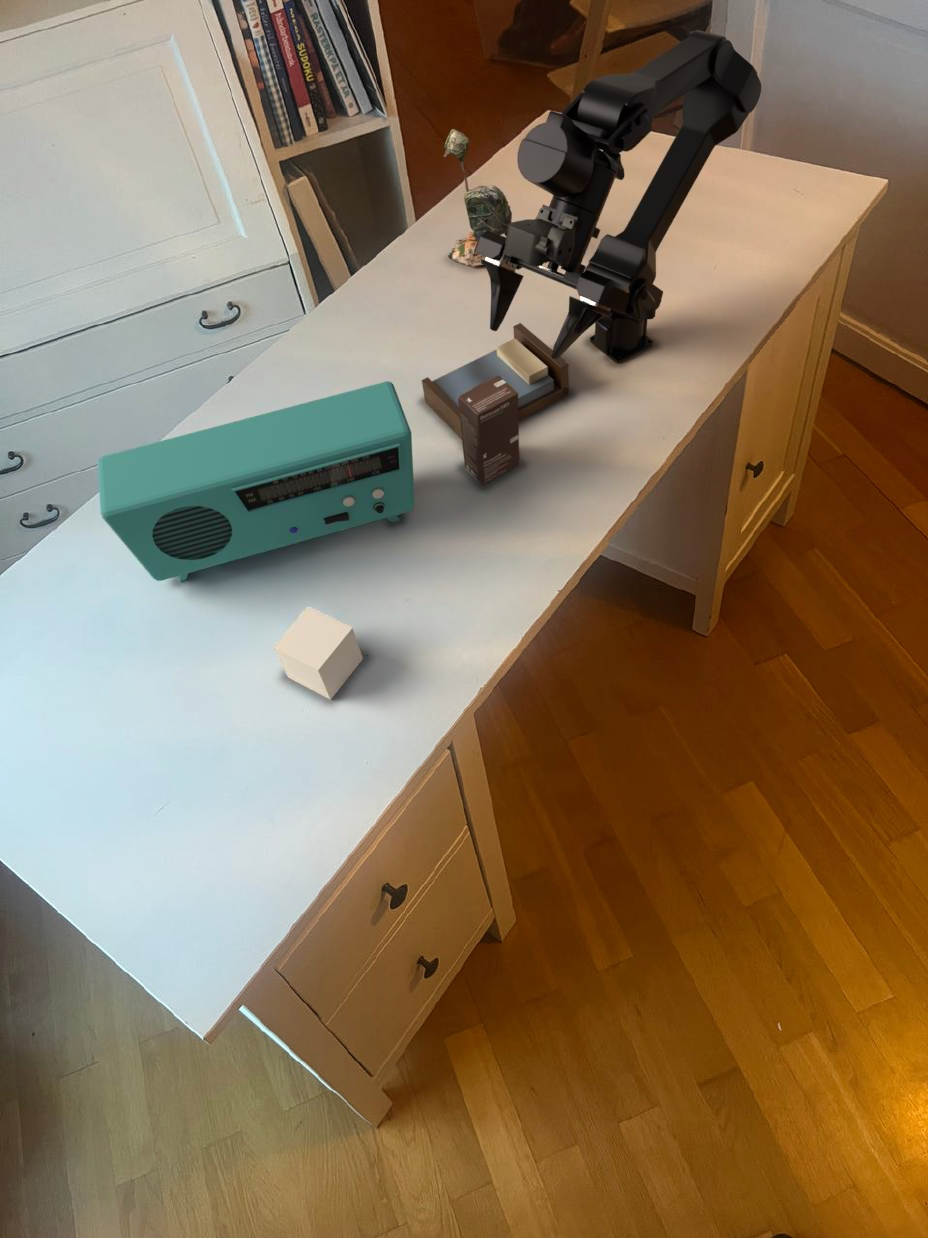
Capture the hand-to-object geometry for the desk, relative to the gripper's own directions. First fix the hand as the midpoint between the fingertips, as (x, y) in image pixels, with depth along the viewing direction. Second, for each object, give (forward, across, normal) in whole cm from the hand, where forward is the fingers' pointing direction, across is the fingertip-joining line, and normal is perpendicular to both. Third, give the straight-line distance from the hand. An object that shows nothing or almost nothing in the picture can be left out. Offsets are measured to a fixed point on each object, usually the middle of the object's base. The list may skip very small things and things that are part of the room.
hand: (522, 344), depth 105 cm
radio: (+31, -12, -15) cm, 37 cm away
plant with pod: (-7, -30, +29) cm, 42 cm away
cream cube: (+38, +5, -23) cm, 45 cm away
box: (+16, +1, +3) cm, 16 cm away
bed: (+9, -7, +10) cm, 15 cm away
